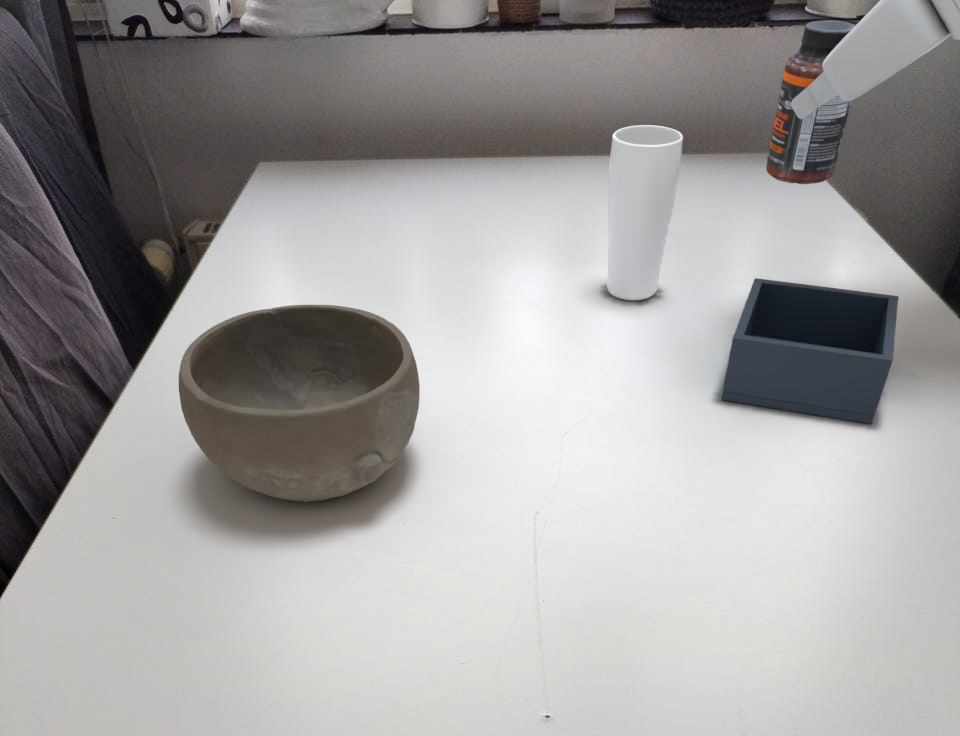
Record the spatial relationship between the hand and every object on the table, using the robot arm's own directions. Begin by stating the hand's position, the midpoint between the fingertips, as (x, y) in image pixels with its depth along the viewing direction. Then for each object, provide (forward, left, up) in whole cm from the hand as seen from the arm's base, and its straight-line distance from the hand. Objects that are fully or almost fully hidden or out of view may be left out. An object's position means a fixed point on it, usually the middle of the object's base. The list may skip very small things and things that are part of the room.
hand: (807, 99), depth 76 cm
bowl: (+49, -1, -19) cm, 53 cm away
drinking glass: (+7, -12, -19) cm, 24 cm away
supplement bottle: (0, 0, -6) cm, 6 cm away
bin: (+6, +11, -19) cm, 23 cm away
